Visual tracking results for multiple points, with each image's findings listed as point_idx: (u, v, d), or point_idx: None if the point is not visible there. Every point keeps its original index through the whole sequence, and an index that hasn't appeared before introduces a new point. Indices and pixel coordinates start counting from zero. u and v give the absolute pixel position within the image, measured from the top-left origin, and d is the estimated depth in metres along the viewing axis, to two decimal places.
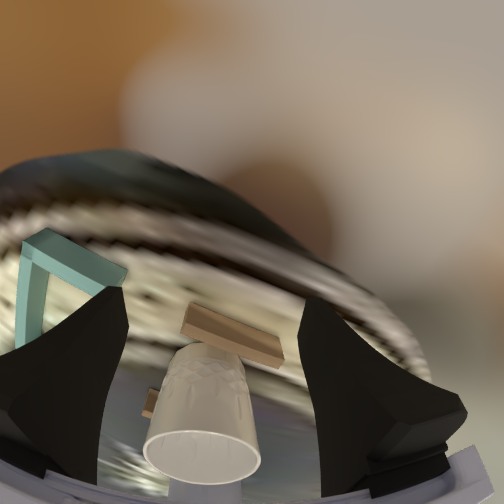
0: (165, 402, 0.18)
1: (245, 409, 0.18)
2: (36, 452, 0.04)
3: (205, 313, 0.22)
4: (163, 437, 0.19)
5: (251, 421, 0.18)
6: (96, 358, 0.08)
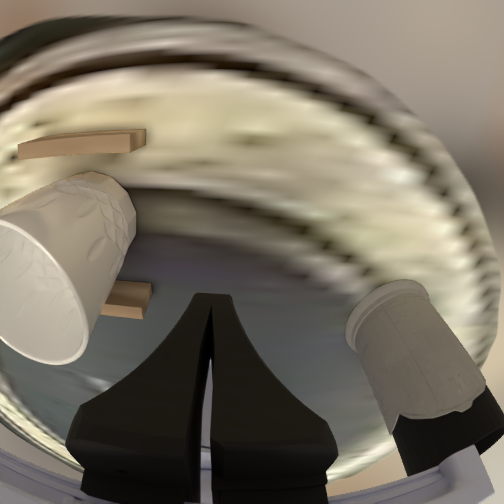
0: None
1: (63, 204, 0.11)
2: (181, 488, 0.04)
3: (51, 136, 0.15)
4: (26, 303, 0.13)
5: (66, 217, 0.11)
6: (202, 371, 0.09)
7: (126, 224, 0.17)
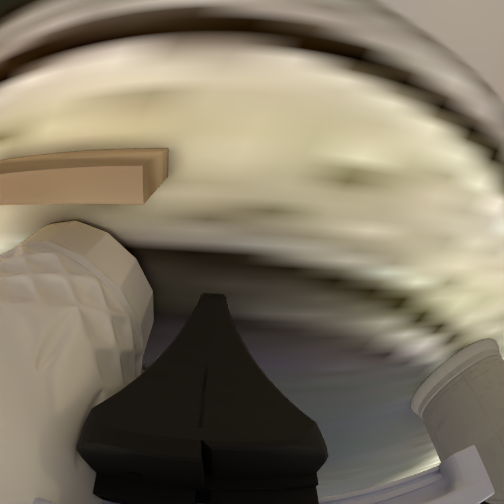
0: None
1: (4, 343, 0.04)
2: (194, 489, 0.04)
3: (8, 161, 0.08)
4: None
5: (12, 386, 0.04)
6: None
7: (138, 324, 0.09)
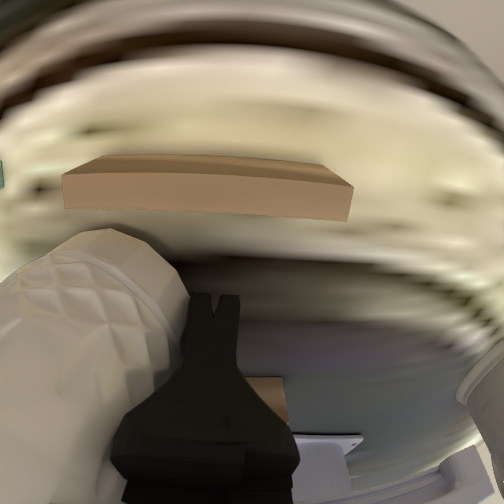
0: None
1: (23, 363, 0.04)
2: (228, 490, 0.05)
3: (129, 158, 0.09)
4: None
5: (29, 410, 0.04)
6: None
7: (176, 341, 0.09)
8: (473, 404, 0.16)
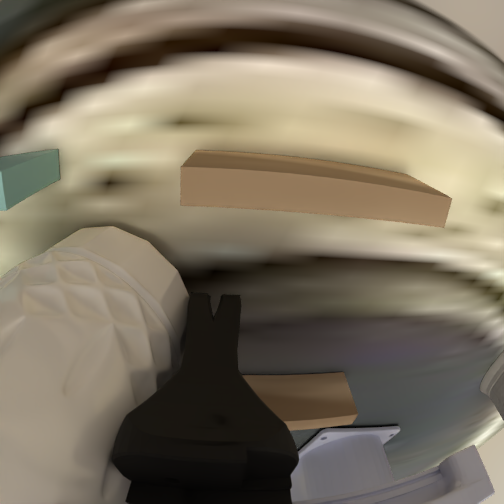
0: None
1: (27, 363, 0.04)
2: (229, 490, 0.05)
3: (235, 154, 0.09)
4: None
5: (35, 412, 0.04)
6: None
7: (177, 341, 0.09)
8: (497, 393, 0.17)
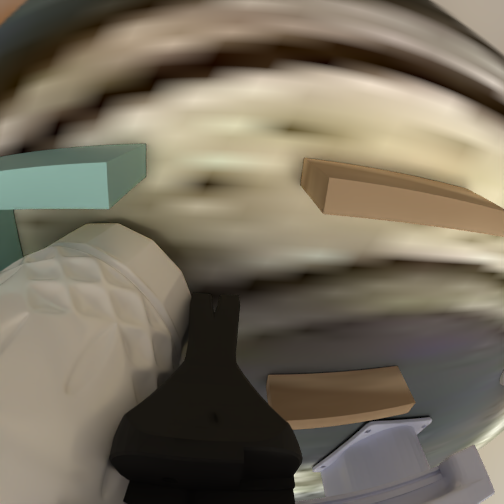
0: None
1: (30, 360, 0.04)
2: (227, 490, 0.05)
3: (347, 166, 0.09)
4: None
5: (36, 410, 0.03)
6: None
7: (178, 342, 0.09)
8: None
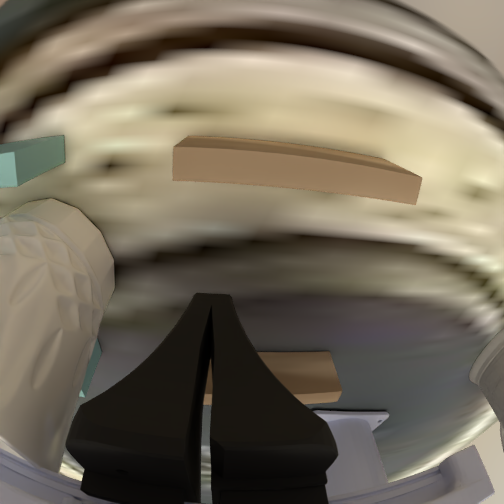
0: None
1: None
2: (181, 488, 0.04)
3: (223, 139, 0.10)
4: None
5: None
6: (202, 371, 0.09)
7: (98, 286, 0.11)
8: (486, 381, 0.18)
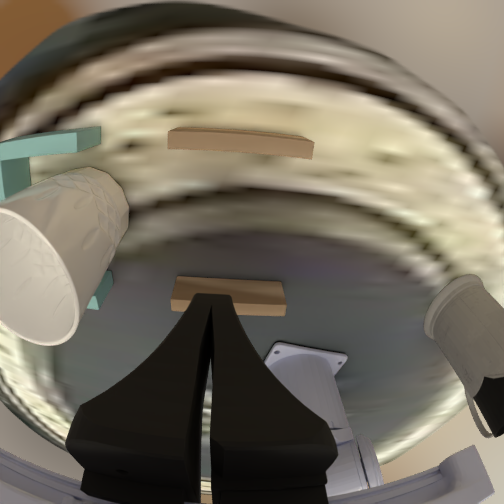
0: None
1: (62, 196, 0.12)
2: (181, 488, 0.04)
3: (197, 128, 0.17)
4: (22, 288, 0.14)
5: (64, 209, 0.12)
6: (202, 371, 0.09)
7: (119, 218, 0.18)
8: (437, 332, 0.25)
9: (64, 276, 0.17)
